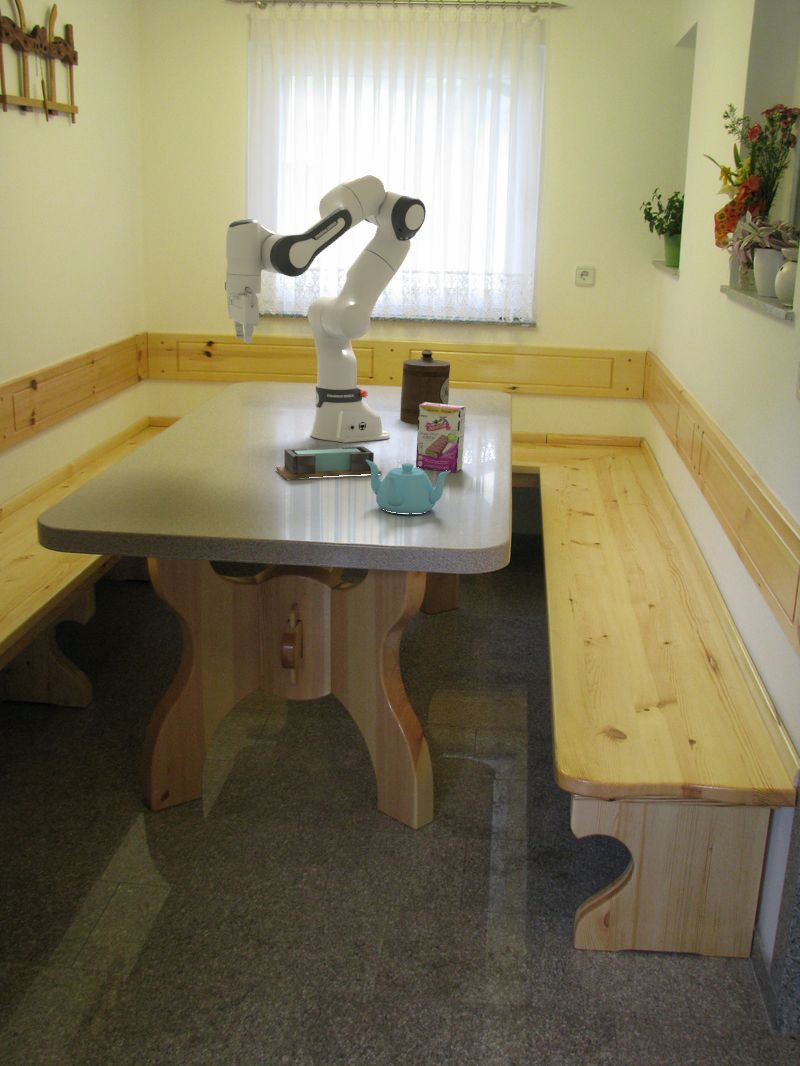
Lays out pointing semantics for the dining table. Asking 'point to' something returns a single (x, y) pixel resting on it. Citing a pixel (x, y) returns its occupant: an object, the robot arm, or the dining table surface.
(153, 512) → the dining table surface
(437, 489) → the teapot
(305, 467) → the sharpening stone holder
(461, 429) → the candy bar box
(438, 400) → the wooden container
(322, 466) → the slat
